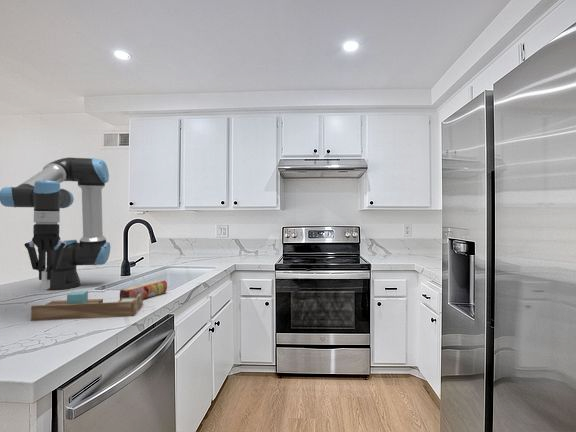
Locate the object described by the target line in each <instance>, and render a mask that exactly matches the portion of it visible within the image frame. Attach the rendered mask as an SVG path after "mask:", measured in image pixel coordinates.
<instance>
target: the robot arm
mask: <svg viewBox="0 0 576 432" xmlns="http://www.w3.org/2000/svg"><path fill="white" fill-rule="evenodd" d="M109 179H110V174H109V168H108V165H107V163H106V162H105V160H103V159H101V158H88V157H87V158H86V157H85V158H84V157H63V158H59V159H56V160H54V161H51V162H49V163H46V165H44V166H43V167H42V170H41V171H39V172H38V173H36V174H34V175H32V177H30V178H28V179H26V180H25V181H24V182H22V183H21V184H19V185H17V186H6V187H5V186H4V187H2V188H1V189H0V204H1V206H3V207H5V208H6V207H8V208H9V207H10V208H33V223H35V224H33V231H32V232H33V236H32V239H31V240H30V241H29V242H26V243H25V242H24V244H23V245H24V247H25V248H26V250H27V253H28V258H29V260H30V265H31V268H32V270H34V271H35V270H36V271H38V280H39V281H41V282H40V283H41V287H40V288H41V291H43V290H44V291H45V290H48V291H54V290H55V291H58V290H69V289H74V288H78V287H80V286H81V279H80V276H79V273H78V271H77V266H99V265H105V264H106V263H107V262H108V260H109V257H110V254H111V243H110V242H109V241H107V238H106V237H105V236H104V233H103V197H102V192H103V191H102V190H103V188H105V186H106V184H107V183H108V182H109V181H110V180H109ZM63 182H77V186H78V187H79V188H80V189H81V205H82V207H81V210H82V214H81V215H82V237H81V238H80V239H79V242H78V240H77V239H68V240H61V237H60V224H58V223H60V217H61V216H60V213H61V212H60V209H67V208H69V207H70V206H72V205H73V203H74V196H73V194H72V192H71V191H69V190H67V189H64V188H61V183H63ZM35 247H37V249H36V248H35ZM37 252H38V255H37Z"/></svg>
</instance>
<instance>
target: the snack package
mask: <svg viewBox="0 0 576 432" xmlns="http://www.w3.org/2000/svg"><path fill="white" fill-rule="evenodd" d="M167 289H168V283H167V281H166V279H161V278H158V279H155V280H152V281H148V282H144V283H140V284H136V285H131V286H129V287H125V288H122V289H120V291H119V300H120V299H121V298H136V297H137V296H138V295H139V293H141V292H143V300H145V299H148V298H152V297H155V296H159V295H163V294H165V293H166V292H167Z"/></svg>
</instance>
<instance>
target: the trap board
mask: <svg viewBox="0 0 576 432" xmlns="http://www.w3.org/2000/svg"><path fill="white" fill-rule="evenodd" d="M143 305H144V299H143V292H141V293H139V295H138V296H137V297H136V298H121V299H120V298H119V300H118V301H117V302H116V301H115V302H114V301H113V302H104V299H103V298H93V299H92V298H91V299H90V298H88V303H86V304H67V299H65V300H64V299H63V300H51V301H50V302H48V303H46V304H44V305H42V304H41V305H38V304H37V305H32V306H30V321H31V322H34V321H35V322H36V321H37V322H38V321H39V322H40V321H54V320H55V321H56V320H76V319H79V320H80V319H97V318H113V317H114V318H116V317H117V318H119V317H130V316H131V317H134V316H135V315H136V314H137V312H138V311H139V310H140V308H141V307H142V306H143Z"/></svg>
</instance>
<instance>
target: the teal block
mask: <svg viewBox="0 0 576 432" xmlns="http://www.w3.org/2000/svg"><path fill="white" fill-rule="evenodd" d="M88 293H89V291H88V290H83V291H82V290H80V291H72V292H70V293H68V294H67V295H66V300H67V304H86V303H88V299H89V294H88Z"/></svg>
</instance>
